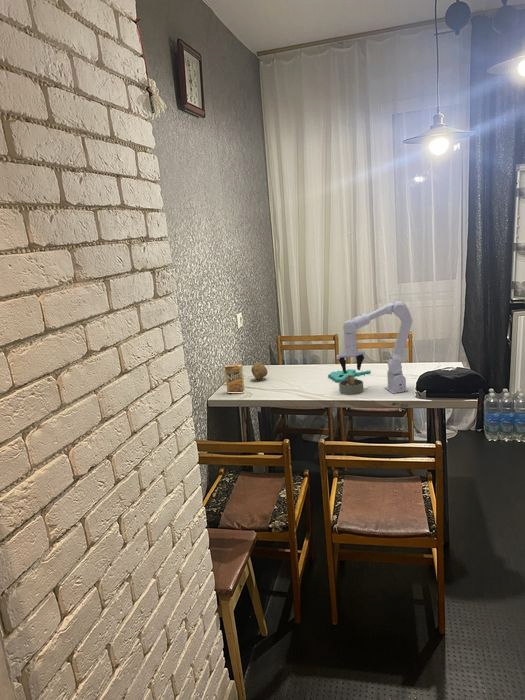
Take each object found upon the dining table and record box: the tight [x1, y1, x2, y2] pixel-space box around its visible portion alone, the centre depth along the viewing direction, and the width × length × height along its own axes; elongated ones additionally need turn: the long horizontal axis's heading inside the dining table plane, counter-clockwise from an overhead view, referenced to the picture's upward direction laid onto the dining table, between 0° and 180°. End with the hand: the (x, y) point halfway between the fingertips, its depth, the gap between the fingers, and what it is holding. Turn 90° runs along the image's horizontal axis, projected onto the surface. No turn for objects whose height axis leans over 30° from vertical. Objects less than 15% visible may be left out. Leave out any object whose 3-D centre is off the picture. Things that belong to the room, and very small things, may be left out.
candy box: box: [224, 363, 245, 393], centre depth 264 cm, size 9×4×15 cm, turn 81°
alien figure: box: [327, 368, 372, 384], centre depth 274 cm, size 20×2×20 cm
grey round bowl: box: [338, 378, 365, 396], centre depth 251 cm, size 12×12×4 cm
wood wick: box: [347, 375, 354, 386], centre depth 250 cm, size 4×2×7 cm, turn 13°
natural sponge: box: [251, 362, 268, 380], centre depth 284 cm, size 9×9×10 cm
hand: (351, 370), depth 250 cm, fingers open, 7 cm apart
